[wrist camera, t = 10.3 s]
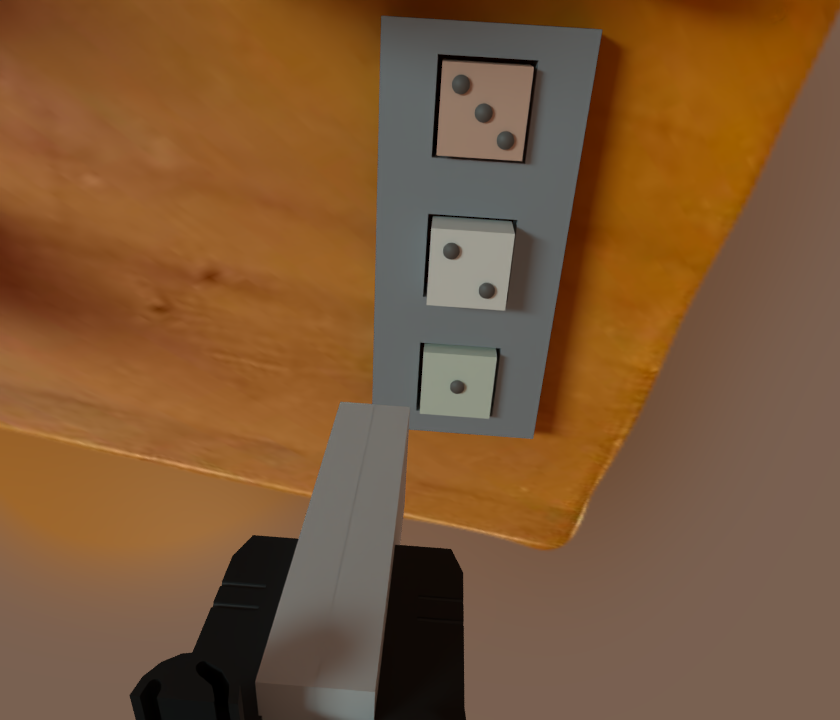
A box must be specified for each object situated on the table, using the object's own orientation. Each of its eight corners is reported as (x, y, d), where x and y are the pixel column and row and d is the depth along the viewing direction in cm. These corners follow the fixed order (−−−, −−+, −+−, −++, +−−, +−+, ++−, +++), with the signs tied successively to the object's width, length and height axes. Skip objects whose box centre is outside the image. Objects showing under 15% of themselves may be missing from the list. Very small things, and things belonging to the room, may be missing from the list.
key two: (502, 294, 43) (505, 311, 40) (428, 289, 43) (426, 306, 40) (511, 221, 40) (515, 234, 38) (432, 215, 41) (431, 229, 38)
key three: (518, 152, 40) (522, 161, 37) (437, 147, 40) (436, 156, 37) (529, 63, 37) (534, 67, 35) (443, 58, 37) (442, 61, 35)
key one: (487, 398, 48) (489, 420, 46) (421, 394, 48) (419, 415, 46) (494, 339, 46) (497, 358, 43) (425, 334, 46) (423, 353, 43)
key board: (529, 420, 50) (532, 438, 47) (375, 408, 50) (371, 426, 48) (593, 28, 37) (602, 29, 34) (385, 15, 37) (381, 15, 35)
